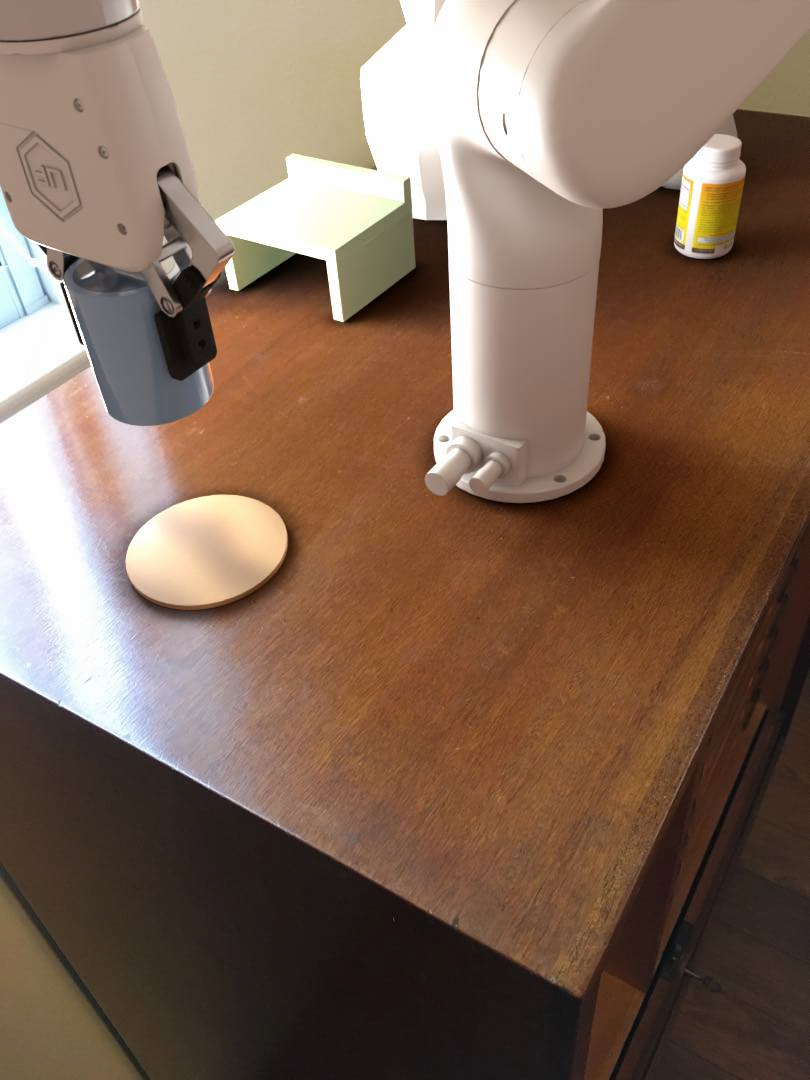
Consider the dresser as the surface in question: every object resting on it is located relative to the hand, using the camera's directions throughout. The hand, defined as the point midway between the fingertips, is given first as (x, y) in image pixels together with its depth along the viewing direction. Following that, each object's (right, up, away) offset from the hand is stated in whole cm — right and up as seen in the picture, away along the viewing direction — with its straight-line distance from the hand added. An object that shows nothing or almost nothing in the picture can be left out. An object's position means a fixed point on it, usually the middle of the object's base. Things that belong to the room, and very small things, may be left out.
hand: (148, 349), depth 53 cm
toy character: (+45, +29, +51) cm, 74 cm away
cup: (0, -2, +2) cm, 3 cm away
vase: (+18, +26, +50) cm, 59 cm away
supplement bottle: (+44, +18, +39) cm, 61 cm away
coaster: (+1, -12, +11) cm, 16 cm away
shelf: (+6, +15, +39) cm, 42 cm away
